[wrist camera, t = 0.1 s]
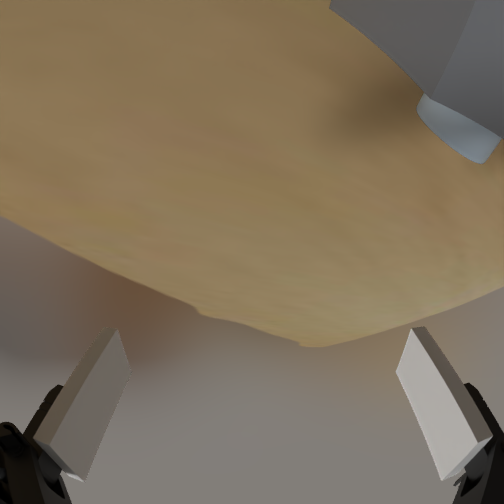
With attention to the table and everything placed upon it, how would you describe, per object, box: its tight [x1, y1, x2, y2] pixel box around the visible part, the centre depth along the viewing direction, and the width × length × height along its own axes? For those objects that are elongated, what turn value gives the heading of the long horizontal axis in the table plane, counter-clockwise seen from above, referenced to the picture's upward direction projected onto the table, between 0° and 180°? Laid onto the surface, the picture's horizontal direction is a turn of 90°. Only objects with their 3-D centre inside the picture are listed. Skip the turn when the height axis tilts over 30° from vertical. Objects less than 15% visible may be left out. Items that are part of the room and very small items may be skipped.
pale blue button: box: [416, 93, 502, 164], centre depth 10 cm, size 4×4×4 cm
